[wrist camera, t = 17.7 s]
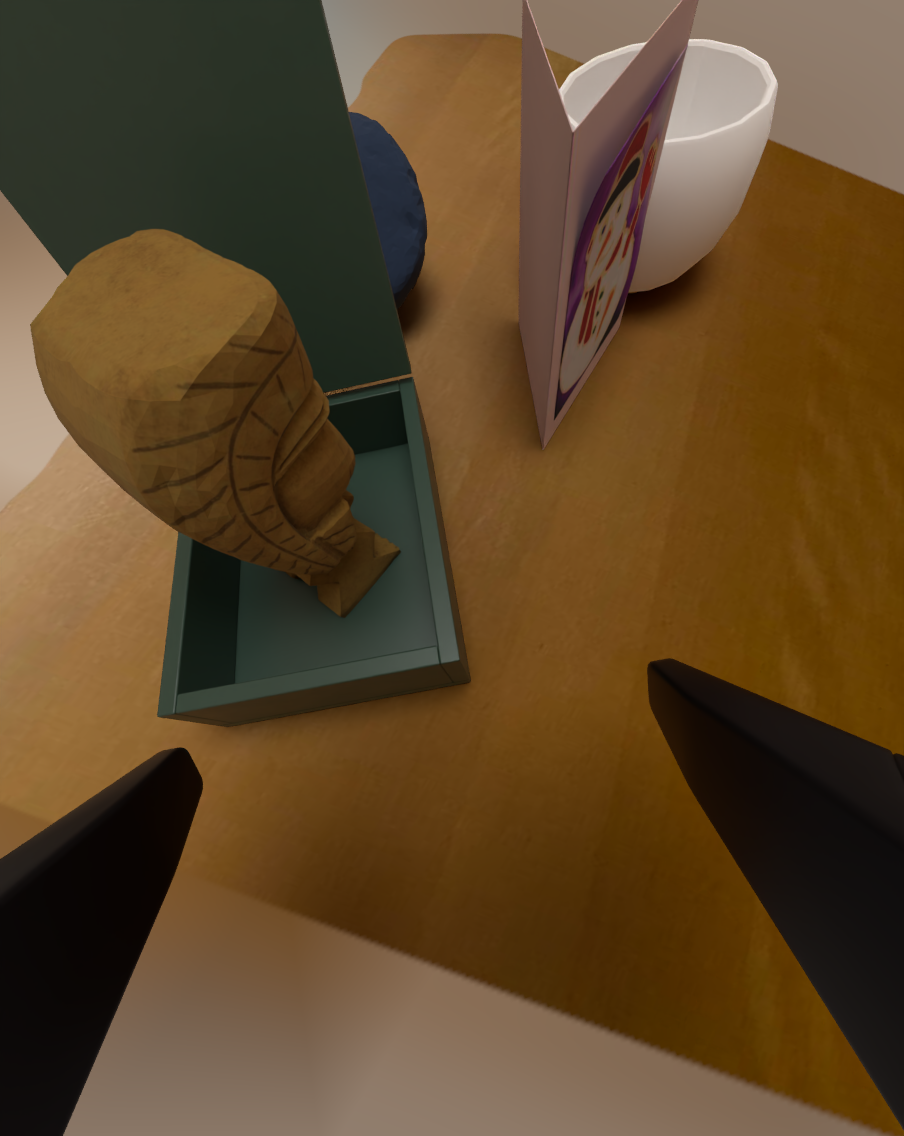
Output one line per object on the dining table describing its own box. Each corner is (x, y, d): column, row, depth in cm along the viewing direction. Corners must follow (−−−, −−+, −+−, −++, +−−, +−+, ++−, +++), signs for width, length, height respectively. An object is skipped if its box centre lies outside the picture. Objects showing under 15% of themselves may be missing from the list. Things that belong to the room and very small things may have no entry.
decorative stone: (264, 307, 36) (181, 154, 27) (388, 240, 38) (349, 74, 29) (328, 390, 32) (253, 238, 22) (467, 309, 33) (450, 137, 24)
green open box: (471, 682, 22) (460, 660, 18) (227, 727, 23) (155, 717, 18) (428, 438, 29) (412, 376, 24) (240, 478, 29) (190, 425, 25)
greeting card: (556, 455, 27) (600, 136, 13) (451, 415, 29) (397, 107, 16) (631, 330, 30) (728, -27, 17) (532, 303, 33) (545, -31, 19)
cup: (504, 294, 33) (501, 125, 24) (589, 202, 36) (613, 23, 28) (663, 351, 29) (727, 172, 20) (743, 241, 32) (829, 46, 24)
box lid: (248, -289, 10) (268, -246, 13) (-259, -138, 11) (-144, -126, 13) (411, 373, 24) (405, 331, 26) (183, 424, 24) (198, 377, 27)
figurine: (417, 553, 24) (297, 285, 11) (335, 648, 23) (74, 472, 9) (330, 492, 27) (142, 211, 13) (250, 574, 25) (-56, 349, 12)
